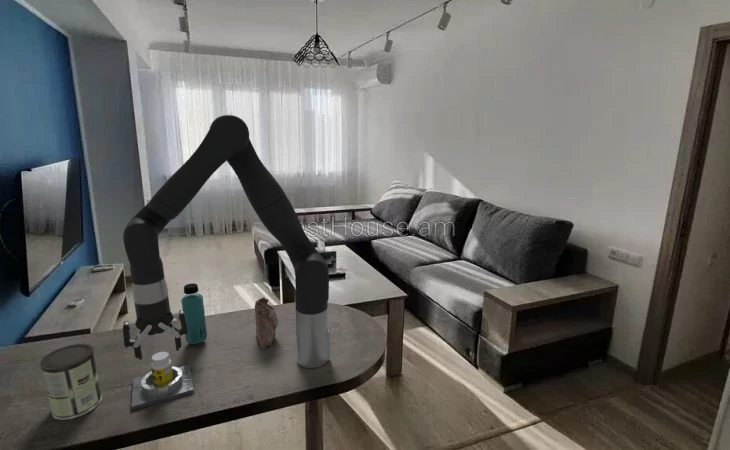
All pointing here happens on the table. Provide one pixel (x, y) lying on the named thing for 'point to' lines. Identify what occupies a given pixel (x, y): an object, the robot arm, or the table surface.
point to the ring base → (161, 388)
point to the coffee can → (71, 381)
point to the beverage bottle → (194, 314)
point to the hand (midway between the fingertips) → (159, 353)
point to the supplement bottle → (161, 369)
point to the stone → (265, 322)
